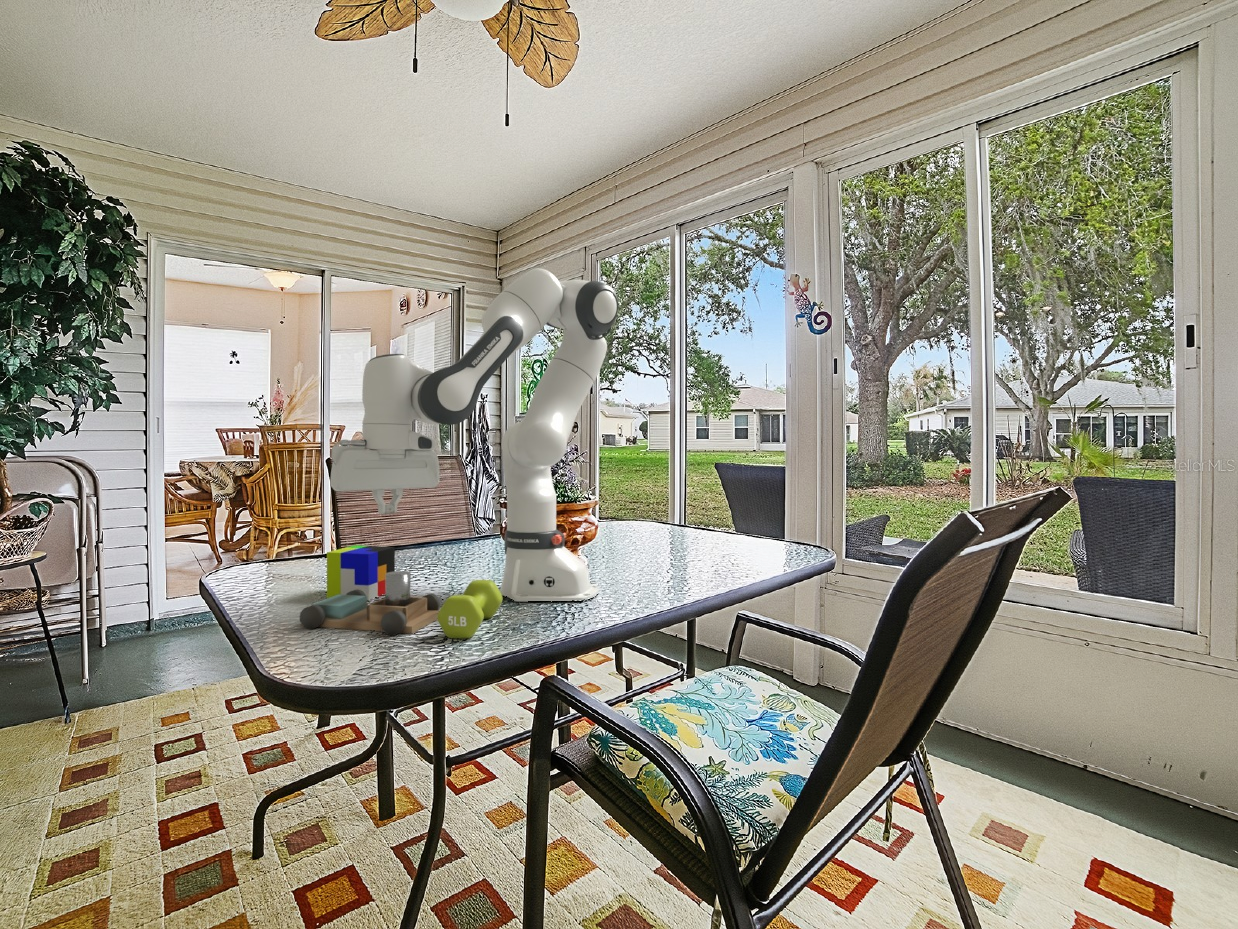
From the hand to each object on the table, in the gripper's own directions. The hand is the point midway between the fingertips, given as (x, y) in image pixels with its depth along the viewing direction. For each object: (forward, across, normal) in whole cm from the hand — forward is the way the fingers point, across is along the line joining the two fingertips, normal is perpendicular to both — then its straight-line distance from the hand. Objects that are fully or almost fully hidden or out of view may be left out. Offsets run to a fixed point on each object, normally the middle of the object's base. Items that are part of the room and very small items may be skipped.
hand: (387, 513), depth 117 cm
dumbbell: (+20, +8, -15) cm, 27 cm away
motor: (+19, 0, -4) cm, 19 cm away
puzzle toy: (+20, +6, +23) cm, 31 cm away
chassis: (+20, -2, +1) cm, 20 cm away
